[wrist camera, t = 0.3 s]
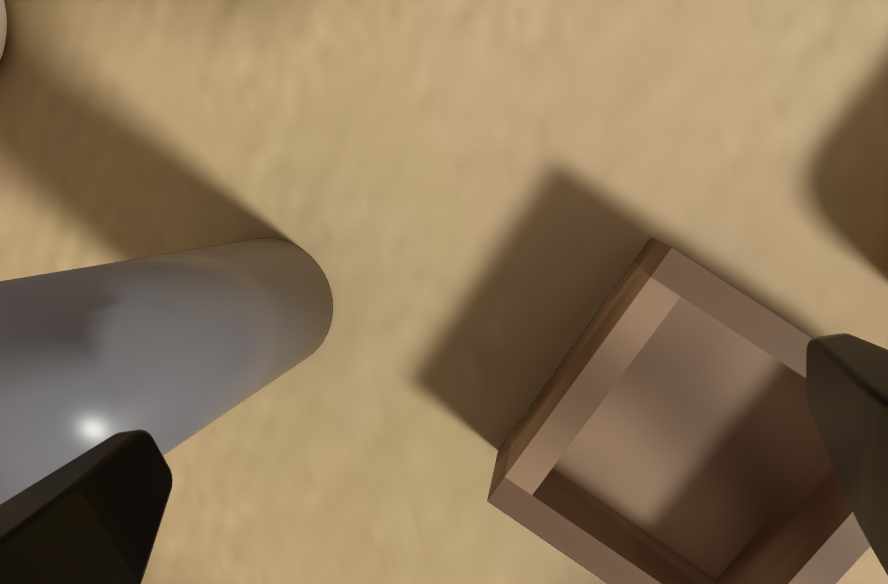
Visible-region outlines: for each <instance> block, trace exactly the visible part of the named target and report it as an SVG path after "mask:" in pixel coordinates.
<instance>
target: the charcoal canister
mask: <svg viewBox="0 0 888 584" xmlns="http://www.w3.org/2000/svg"><path fill="white" fill-rule="evenodd" d="M332 316H333V299H332V293H331V289H330V286H329V283H328V280H327V278H326V276H325V274H324V272H323V271H322V269H321V267H320V266H319V265H318V264H317V262H316V261H315V260H314V259H313V258H312V257H311V256H310V255H309V254H308V253H306V252H305V251H304V250H303V249H301V248H299V247H298V246H296V245H294V244H292V243H289V242H287V241H283V240H279V239H273V238H261V239H254V240H248V241H242V242H236V243H230V244H224V245H218V246H212V247H206V248H200V249H194V250H188V251H182V252H176V253H169V254H163V255H157V256H151V257H145V258H139V259H133V260H127V261H121V262H115V263H109V264H103V265H97V266H91V267H85V268H79V269H73V270H67V271H61V272H54V273H48V274H42V275H36V276H30V277H24V278H18V279H12V280H6V281H0V504H2V503H4V502H5V501H7V500H8V499H10V498H12V497H13V496H15V495H17V494H18V493H20V492H21V491H23V490H25V489H26V488H28V487H30V486H31V485H33V484H34V483H36V482H38V481H39V480H41V479H43V478H44V477H46V476H47V475H49V474H51V473H52V472H54V471H56V470H57V469H59V468H60V467H62V466H64V465H65V464H67V463H69V462H70V461H72V460H73V459H75V458H77V457H78V456H80V455H82V454H83V453H85V452H86V451H88V450H90V449H91V448H93V447H95V446H96V445H98V444H99V443H101V442H103V441H104V440H106V439H108V438H109V437H111V436H112V435H114V434H116V433H119V432H125V431H132V430H140V429H141V430H145V431H147V432H148V433H150V434H151V436H152V437H153V439H154V440H155V442H156V444H157V446H158V448H159V450H160V452H161V453H162V455H164V454H166V453H167V452H169V451H170V450H172V449H173V448H175V447H176V446H178V445H179V444H181V443H182V442H184V441H185V440H187V439H188V438H190V437H191V436H193V435H194V434H195V433H197V432H198V431H200V430H201V429H203V428H204V427H206V426H207V425H209V424H210V423H212V422H213V421H215V420H216V419H218V418H219V417H221V416H222V415H224V414H225V413H226V412H228V411H229V410H231V409H232V408H234V407H235V406H237V405H238V404H240V403H241V402H243V401H244V400H246V399H247V398H249V397H250V396H252V395H253V394H255V393H256V392H257V391H259V390H260V389H262V388H263V387H265V386H266V385H268V384H269V383H271V382H272V381H274V380H275V379H277V378H278V377H280V376H281V375H283V374H284V373H286V372H287V371H288V370H290V369H291V368H293V367H294V366H296V365H297V364H299V363H300V362H302V361H303V360H305V359H306V358H308V357H309V356H310V355H311V354H313V353H314V352H315V351H316V350H317V349H318V348H319V347H320V345H321V344H322V342H323V341H324V339H325V337H326V336H327V334H328V331H329V328H330V326H331V321H332Z"/></svg>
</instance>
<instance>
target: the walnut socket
mask: <svg viewBox="0 0 888 584" xmlns="http://www.w3.org/2000/svg"><path fill="white" fill-rule="evenodd" d="M811 339H812V338H811V337H809V336H808V335H806V334H805V333H803V332H802V331H800V330H798V329H797V328H795V327H794V326H792V325H791V324H789V323H788V322H786V321H785V320H783V319H781V318H780V317H778V316H777V315H775V314H774V313H772V312H771V311H769V310H768V309H766V308H764V307H763V306H761V305H760V304H758V303H757V302H755V301H754V300H752V299H751V298H749V297H747V296H746V295H744V294H743V293H741V292H740V291H738V290H737V289H735V288H734V287H732V286H730V285H729V284H727V283H726V282H724V281H723V280H721V279H720V278H718V277H717V276H715V275H713V274H712V273H710V272H709V271H707V270H706V269H704V268H703V267H701V266H700V265H698V264H697V263H695V262H693V261H692V260H690V259H689V258H687V257H686V256H684V255H683V254H681V253H680V252H678V251H676V250H675V249H673V248H672V247H670V246H668V245H666V244H664V243H662V242H660V241H658V240H656V239H654V238H651V239H650V240H649V242H648V243H647V245H646V246H645V247H644V249H643V250H642V252H641V253H640V254H639V256H638V257H637V259H636V260H635V261H634V263H633V264H632V266H631V267H630V268H629V270H628V271H627V272H626V274H625V275H624V277H623V278H622V279H621V281H620V282H619V284H618V285H617V286H616V288H615V289H614V291H613V292H612V293H611V295H610V296H609V298H608V299H607V300H606V302H605V303H604V305H603V306H602V307H601V309H600V310H599V311H598V313H597V314H596V316H595V317H594V318H593V320H592V321H591V323H590V324H589V325H588V327H587V328H586V330H585V331H584V332H583V334H582V335H581V337H580V338H579V339H578V341H577V342H576V343H575V345H574V346H573V348H572V349H571V350H570V352H569V353H568V355H567V356H566V357H565V359H564V360H563V362H562V363H561V364H560V366H559V367H558V369H557V370H556V371H555V373H554V374H553V376H552V377H551V378H550V380H549V381H548V382H547V384H546V385H545V387H544V388H543V389H542V391H541V392H540V394H539V395H538V396H537V398H536V399H535V401H534V402H533V403H532V405H531V406H530V408H529V409H528V410H527V412H526V413H525V415H524V416H523V417H522V419H521V420H520V421H519V423H518V424H517V426H516V427H515V428H514V430H513V431H512V433H511V434H510V435H509V437H508V438H507V440H506V441H505V442H504V444H503V445H502V447H501V448H500V449H499V451H498V454H497V459H496V463H495V468H494V472H493V477H492V482H491V486H490V491H489V495H488V500H487V501H488V502H489V503H491V504H492V505H494V506H495V507H497V508H498V509H499V510H501V511H502V512H504V513H505V514H507V515H508V516H510V517H511V518H513V519H514V520H515V521H517V522H518V523H520V524H521V525H523V526H524V527H526V528H527V529H529V530H530V531H532V532H533V533H534V534H536V535H537V536H539V537H540V538H542V539H543V540H545V541H546V542H548V543H549V544H551V545H552V546H553V547H555V548H556V549H558V550H559V551H561V552H562V553H564V554H565V555H567V556H568V557H569V558H571V559H572V560H574V561H575V562H577V563H578V564H580V565H581V566H583V567H584V568H586V569H587V570H588V571H590V572H591V573H593V574H594V575H596V576H597V577H599V578H600V579H602V580H603V581H605V582H606V583H607V584H836V583H837V582H838V581H839V580H840V579H841V577H842V576H843V575H844V574H845V573H846V572H847V571H848V570H849V569H850V568H851V567H852V565H853V564H854V563H855V562H856V561H857V560H858V559H859V558H860V557H861V556H862V555H863V553H864V552H865V551H866V550H867V549H868V548H869V547H870V544H869V542H868V540H867V539H866V537H865V535H864V533H863V531H862V529H861V528H860V526H859V524H858V522H857V520H856V518H855V515H854V513H853V511H852V509H851V507H850V504H849V502H848V500H847V498H846V495H845V493H844V491H843V488H842V486H841V484H840V481H839V479H838V477H837V474H836V472H835V470H834V467H833V465H832V463H831V461H830V458H829V456H828V454H827V451H826V449H825V447H824V444H823V442H822V440H821V437H820V435H819V433H818V430H817V428H816V426H815V423H814V421H813V419H812V417H811V414H810V411H809V408H808V404H807V399H806V350H807V345H808V342H809V341H810V340H811Z"/></svg>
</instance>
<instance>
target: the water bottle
mask: <svg viewBox="0 0 888 584" xmlns="http://www.w3.org/2000/svg"><path fill="white" fill-rule="evenodd" d="M6 32H7V17H6V8H5V2H4V0H0V60H1V57H2V54H3V51H4V46H5V41H6Z"/></svg>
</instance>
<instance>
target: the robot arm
mask: <svg viewBox="0 0 888 584" xmlns="http://www.w3.org/2000/svg"><path fill="white" fill-rule="evenodd" d="M806 399H807V404H808V408H809V411H810V414H811V417H812V419H813V421H814V423H815V426H816V428H817V430H818V433H819V435H820V437H821V440H822V442H823V444H824V447H825V449H826V451H827V454H828V456H829V458H830V461H831V463H832V465H833V467H834V470H835V472H836V474H837V477H838V479H839V481H840V484H841V486H842V488H843V491H844V493H845V495H846V498H847V500H848V502H849V504H850V507H851V509H852V511H853V513H854V515H855V518H856V520H857V522H858V524H859V526H860V528H861V529H862V531H863V533H864V535H865V537H866V539H867V540H868V542H869V544H870V546H871V547H872V549H873V551H874V553H875V554H876V556H877V558H878V559H879V561H880V563H881V565H882V566H883V568H884V570H885V571H886V573H887V575H888V350H887V349H884V348H882V347H879V346H877V345H875V344H872V343H870V342H867V341H865V340H862V339H860V338H857V337H855V336H852V335H849V334H835V335H828V336H821V337H815V338H812V339H811V340H810V341H809V342H808V345H807V350H806ZM171 488H172V474H171V470H170V468H169V466H168V464H167V463H166V461H165V459H164V457H163V455H162V453H161V452H160V450H159V448H158V446H157V444H156V442H155V440H154V439H153V437H152V436H151V434H150V433H148V432H147V431H145V430H141V429H140V430H132V431H125V432H119V433H116V434H114V435H112V436H111V437H109V438H108V439H106V440H104V441H103V442H101V443H99V444H98V445H96V446H95V447H93V448H91V449H90V450H88V451H86V452H85V453H83V454H82V455H80V456H78V457H77V458H75V459H73V460H72V461H70V462H69V463H67V464H65V465H64V466H62V467H60V468H59V469H57V470H56V471H54V472H52V473H51V474H49V475H47V476H46V477H44V478H43V479H41V480H39V481H38V482H36V483H34V484H33V485H31V486H30V487H28V488H26V489H25V490H23V491H21V492H20V493H18V494H17V495H15V496H13V497H12V498H10V499H8V500H7V501H5V502H4V503H2V504H0V584H141V582H142V579H143V576H144V573H145V570H146V567H147V564H148V561H149V558H150V555H151V552H152V548H153V545H154V542H155V539H156V536H157V533H158V530H159V526H160V523H161V520H162V517H163V514H164V511H165V508H166V504H167V501H168V498H169V495H170V492H171Z"/></svg>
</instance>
